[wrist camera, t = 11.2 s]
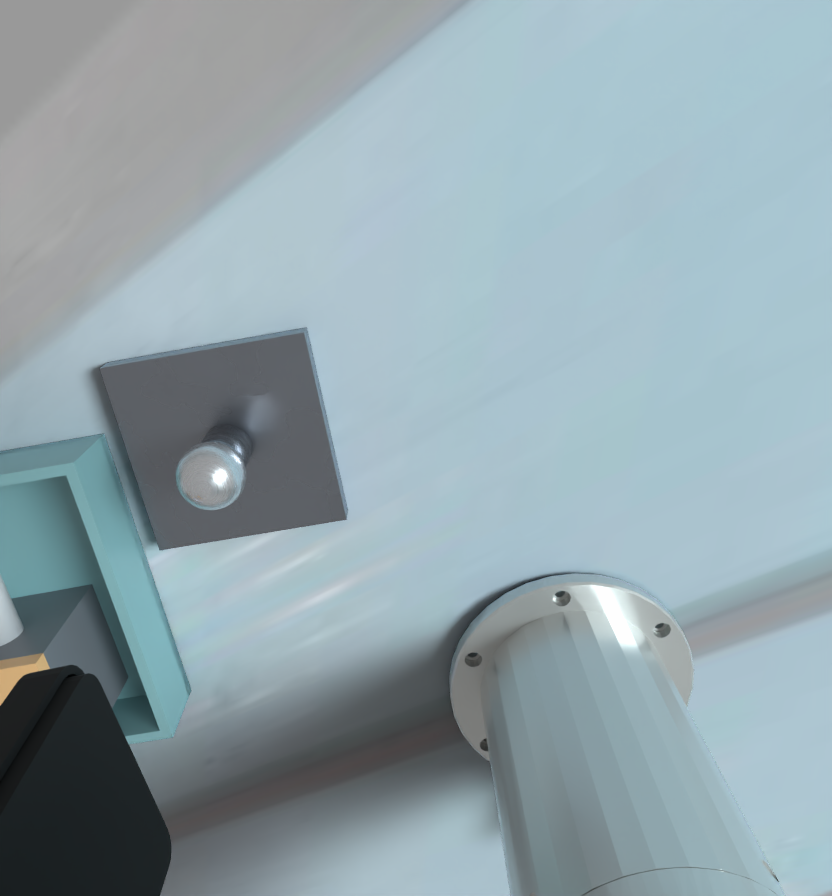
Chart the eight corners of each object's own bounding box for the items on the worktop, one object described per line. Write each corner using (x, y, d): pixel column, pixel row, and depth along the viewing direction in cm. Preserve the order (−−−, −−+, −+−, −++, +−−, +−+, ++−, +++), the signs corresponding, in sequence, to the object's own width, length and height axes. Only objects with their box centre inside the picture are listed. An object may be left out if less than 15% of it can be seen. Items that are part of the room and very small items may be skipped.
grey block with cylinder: (128, 676, 39) (81, 767, 33) (23, 694, 39) (-41, 787, 34) (48, 473, 35) (-21, 536, 29) (-68, 494, 35) (-160, 560, 30)
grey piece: (347, 510, 37) (339, 570, 31) (165, 540, 37) (126, 604, 32) (306, 327, 33) (289, 360, 28) (107, 362, 34) (53, 401, 28)
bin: (191, 690, 40) (173, 737, 37) (-3, 720, 41) (-38, 769, 37) (104, 433, 35) (73, 462, 32) (-118, 471, 35) (-170, 503, 32)
